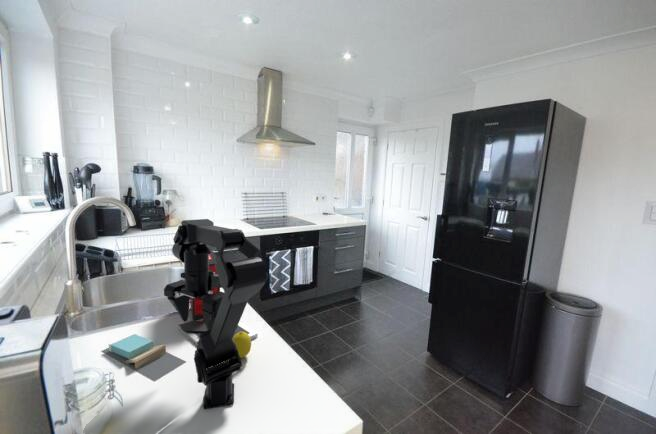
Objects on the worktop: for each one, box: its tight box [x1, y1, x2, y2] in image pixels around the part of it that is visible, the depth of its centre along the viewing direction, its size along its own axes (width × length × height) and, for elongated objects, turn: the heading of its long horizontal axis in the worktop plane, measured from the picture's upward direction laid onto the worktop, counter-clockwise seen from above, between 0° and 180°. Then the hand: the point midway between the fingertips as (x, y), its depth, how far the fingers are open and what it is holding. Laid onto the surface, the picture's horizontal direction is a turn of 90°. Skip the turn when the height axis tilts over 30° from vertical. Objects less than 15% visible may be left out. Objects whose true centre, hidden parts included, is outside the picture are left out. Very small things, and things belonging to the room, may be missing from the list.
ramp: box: [126, 344, 167, 369], centre depth 81 cm, size 5×8×3 cm, turn 153°
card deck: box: [108, 333, 155, 359], centre depth 84 cm, size 2×7×10 cm
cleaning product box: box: [189, 251, 221, 321], centre depth 111 cm, size 16×9×20 cm, turn 28°
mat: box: [101, 345, 187, 382], centre depth 82 cm, size 24×9×1 cm, turn 63°
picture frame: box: [178, 318, 259, 347], centre depth 95 cm, size 16×3×21 cm
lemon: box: [233, 331, 252, 359], centre depth 83 cm, size 6×6×8 cm
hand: (197, 325), depth 77 cm, fingers open, 9 cm apart
